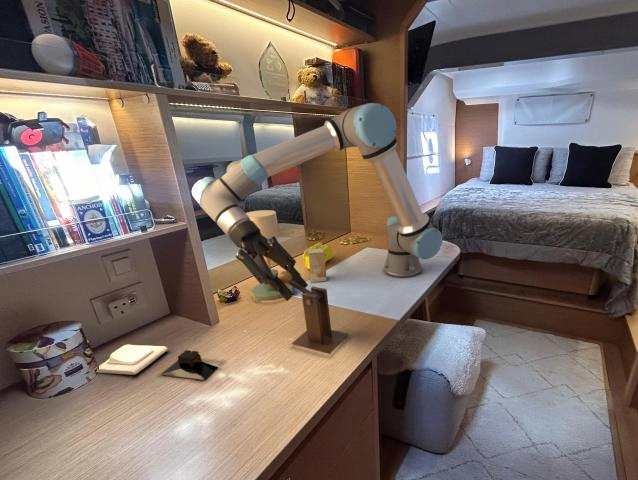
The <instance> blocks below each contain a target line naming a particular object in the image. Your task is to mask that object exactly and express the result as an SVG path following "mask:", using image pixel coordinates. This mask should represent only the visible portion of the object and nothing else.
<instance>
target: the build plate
mask: <svg viewBox="0 0 638 480" xmlns="http://www.w3.org/2000/svg"><path fill="white" fill-rule="evenodd" d="M201 356H202V355H201V354H200V353H199V351H198V350H188V349H186V350H184V351H183V352H181V353H180V354H179V355H178V356H177V360H176V361H175V362H174V363H173V364H171V366H169V367H168V368H166V369H165V370H164V371H163V372H162V373H161V376H162V377H163V376H164V377H171V378H179V379H185V380H186V379H187V380H194V381H196V382H204V381H207V380H208V378H209V377H211V376H212V374H214V372H215V371H216V370H217V369H218V368H219V366H217V365H213V364H210V363H207V362H205V361H203V360H202V359H203V358H202V357H201Z"/></svg>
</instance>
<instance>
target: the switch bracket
mask: <svg viewBox="0 0 638 480" xmlns="http://www.w3.org/2000/svg"><path fill="white" fill-rule="evenodd" d="M313 290H315V291H317V292H318V293H320V294H322V295H323V296H322V299H321V302H320V303H319V299H318V295H314V294H308V293H301V299H302V305H303V312H304V319H305V328H306V331H304V332H303V333H302V334H301V335H300V336H298V337H297V338H296V339H295V340H293V341H292V342H291V344H290V345H294V346H297V347H301V348H305V349H309V350H311V351H312V350H313V351H316V352H320V353H325V354H327V355H330V354H331V352H332V351H334V350H335V349H336V348H337V347H338V345H339V344H340V343H341V342H342V341H344V340H345V338H346V337H347V336H348V335H349V333H348V332H343V331H338V330H333V329H332V326H331V325H332V324H331V316H330V309H329V308H330V306H329V297H328V290H327V288H324V287H317V286H312V287H310V291H311V292H312V291H313Z"/></svg>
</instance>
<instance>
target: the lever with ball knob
mask: <svg viewBox="0 0 638 480" xmlns="http://www.w3.org/2000/svg"><path fill="white" fill-rule="evenodd" d="M278 274H279V275H278V277H279V279H280V280H281V281H282V282H283V283H284V284H285V285H289V284H290V285H291V286H292V288H294V289H296V290H297V291H299V292H300V293H301V294H303V293H308V294H314V295H318V299H319V303H320V302H321V299H322V296H323V295H322V294H320V293H318V292H317V291H315V290H313V291H312V292H311V290H310V289H308V288H307V287H306V288H304V287H303V286H301V285H300V284H298V283H297V282H295V281H293V280H292V275H291V274H290V273H289V272H287V271H286V270H284V271H283V270H282V271H281V272H279V273H278Z"/></svg>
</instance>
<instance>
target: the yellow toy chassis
mask: <svg viewBox="0 0 638 480" xmlns="http://www.w3.org/2000/svg"><path fill="white" fill-rule="evenodd" d="M314 249H324V254H325V263H328V261H330V260H331V259H332V258H334V257H333V256H334V255H333V247H332V246H331V245H328V246H327V245H323V243H322V242H320V241H319V242H318V243H316V244H314V245H312V246H310V247H308V248H307V249H305V250H304V252H303V255H302V258H303V264H304V269H307V270H310V266H309V256H308V250H314Z"/></svg>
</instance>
